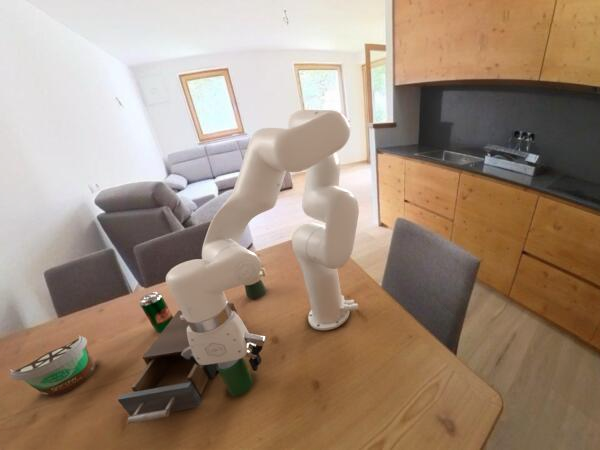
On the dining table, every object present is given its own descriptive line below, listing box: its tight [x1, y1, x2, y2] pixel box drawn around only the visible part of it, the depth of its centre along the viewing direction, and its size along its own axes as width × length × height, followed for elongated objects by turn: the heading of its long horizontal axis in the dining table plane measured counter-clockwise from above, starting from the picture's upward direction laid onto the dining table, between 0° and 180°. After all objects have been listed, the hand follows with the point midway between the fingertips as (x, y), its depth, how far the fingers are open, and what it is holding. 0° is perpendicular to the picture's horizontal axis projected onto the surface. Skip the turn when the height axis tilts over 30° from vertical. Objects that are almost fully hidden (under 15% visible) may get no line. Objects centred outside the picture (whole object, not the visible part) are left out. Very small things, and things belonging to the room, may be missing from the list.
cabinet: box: [142, 302, 239, 372], centre depth 75 cm, size 16×15×9 cm
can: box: [216, 357, 253, 397], centre depth 65 cm, size 5×5×9 cm
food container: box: [9, 334, 96, 397], centre depth 68 cm, size 12×6×10 cm, turn 148°
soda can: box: [139, 291, 174, 333], centre depth 83 cm, size 5×5×12 cm
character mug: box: [242, 267, 267, 300], centre depth 95 cm, size 11×7×13 cm, turn 88°
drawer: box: [117, 354, 209, 425], centre depth 65 cm, size 18×14×7 cm
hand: (235, 369), depth 65 cm, fingers open, 9 cm apart
